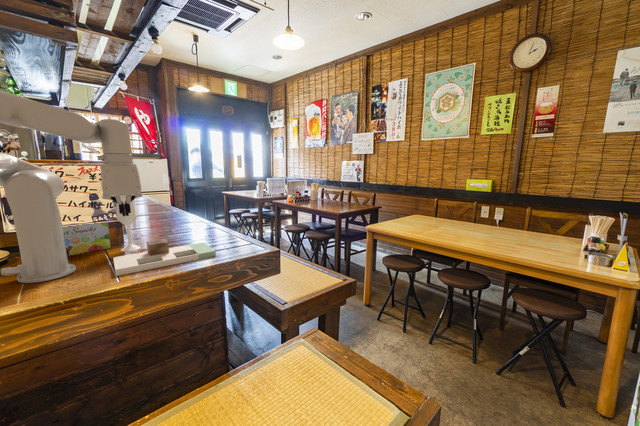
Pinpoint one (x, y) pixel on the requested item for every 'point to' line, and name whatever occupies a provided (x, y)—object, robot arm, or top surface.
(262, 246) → the top surface
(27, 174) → the robot arm
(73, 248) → the snack box
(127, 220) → the champagne flute
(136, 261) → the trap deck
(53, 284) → the top surface
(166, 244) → the walnut block
